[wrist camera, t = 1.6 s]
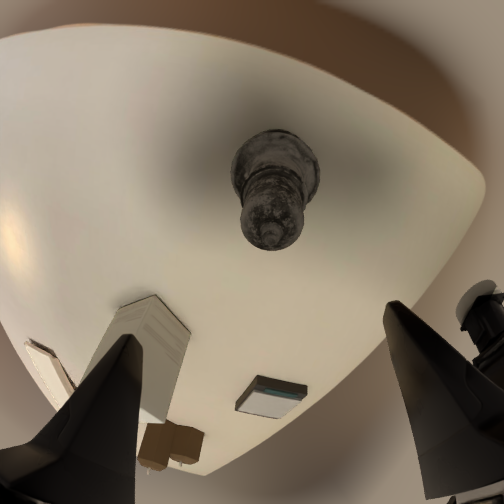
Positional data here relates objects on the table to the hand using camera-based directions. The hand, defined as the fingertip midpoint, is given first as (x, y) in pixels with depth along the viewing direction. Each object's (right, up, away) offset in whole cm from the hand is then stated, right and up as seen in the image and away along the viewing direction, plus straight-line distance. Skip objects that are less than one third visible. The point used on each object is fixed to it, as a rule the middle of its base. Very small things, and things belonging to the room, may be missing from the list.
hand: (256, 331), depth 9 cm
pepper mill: (+2, +10, +12) cm, 15 cm away
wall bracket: (-48, -28, +42) cm, 70 cm away
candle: (-20, -40, +47) cm, 65 cm away
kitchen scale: (+3, -20, +31) cm, 37 cm away
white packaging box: (-12, -6, +24) cm, 27 cm away
